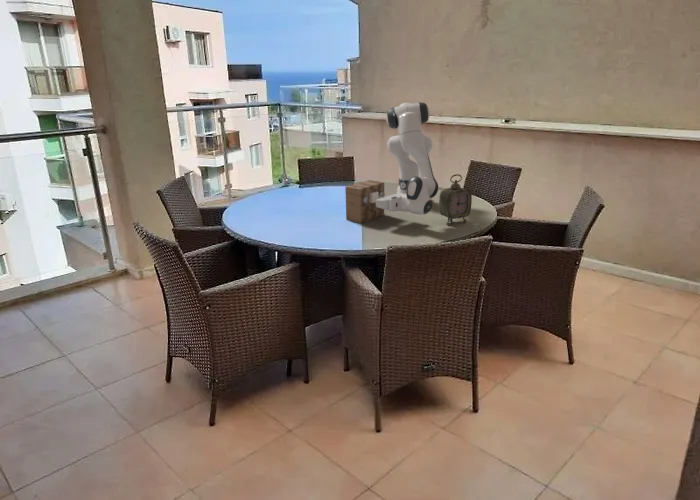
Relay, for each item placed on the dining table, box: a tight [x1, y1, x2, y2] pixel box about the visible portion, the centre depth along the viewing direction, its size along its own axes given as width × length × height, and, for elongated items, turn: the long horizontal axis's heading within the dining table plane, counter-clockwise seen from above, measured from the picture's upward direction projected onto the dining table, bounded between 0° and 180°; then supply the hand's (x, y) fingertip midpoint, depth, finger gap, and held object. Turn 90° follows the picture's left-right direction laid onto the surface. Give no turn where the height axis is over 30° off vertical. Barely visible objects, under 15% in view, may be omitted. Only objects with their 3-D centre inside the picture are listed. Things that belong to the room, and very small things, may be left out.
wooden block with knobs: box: [345, 179, 386, 224], centre depth 257 cm, size 20×12×18 cm, turn 138°
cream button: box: [369, 191, 378, 203], centre depth 254 cm, size 5×4×5 cm
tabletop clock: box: [438, 174, 473, 226], centre depth 244 cm, size 14×9×25 cm, turn 115°
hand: (380, 198), depth 250 cm, fingers closed
